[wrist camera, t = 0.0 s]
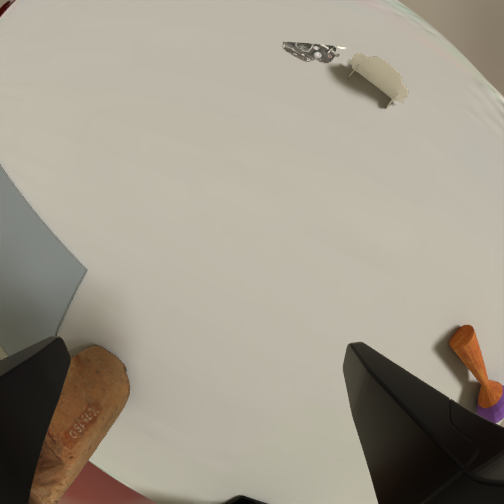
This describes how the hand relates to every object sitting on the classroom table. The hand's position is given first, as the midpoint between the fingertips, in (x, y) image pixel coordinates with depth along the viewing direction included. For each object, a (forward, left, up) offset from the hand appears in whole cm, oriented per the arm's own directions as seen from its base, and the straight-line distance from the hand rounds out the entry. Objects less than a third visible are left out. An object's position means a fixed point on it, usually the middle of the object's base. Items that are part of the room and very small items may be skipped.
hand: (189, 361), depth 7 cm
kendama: (+8, -33, -16) cm, 38 cm away
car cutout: (+23, +5, -16) cm, 28 cm away
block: (-18, +4, -16) cm, 24 cm away
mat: (-18, +23, -15) cm, 33 cm away
